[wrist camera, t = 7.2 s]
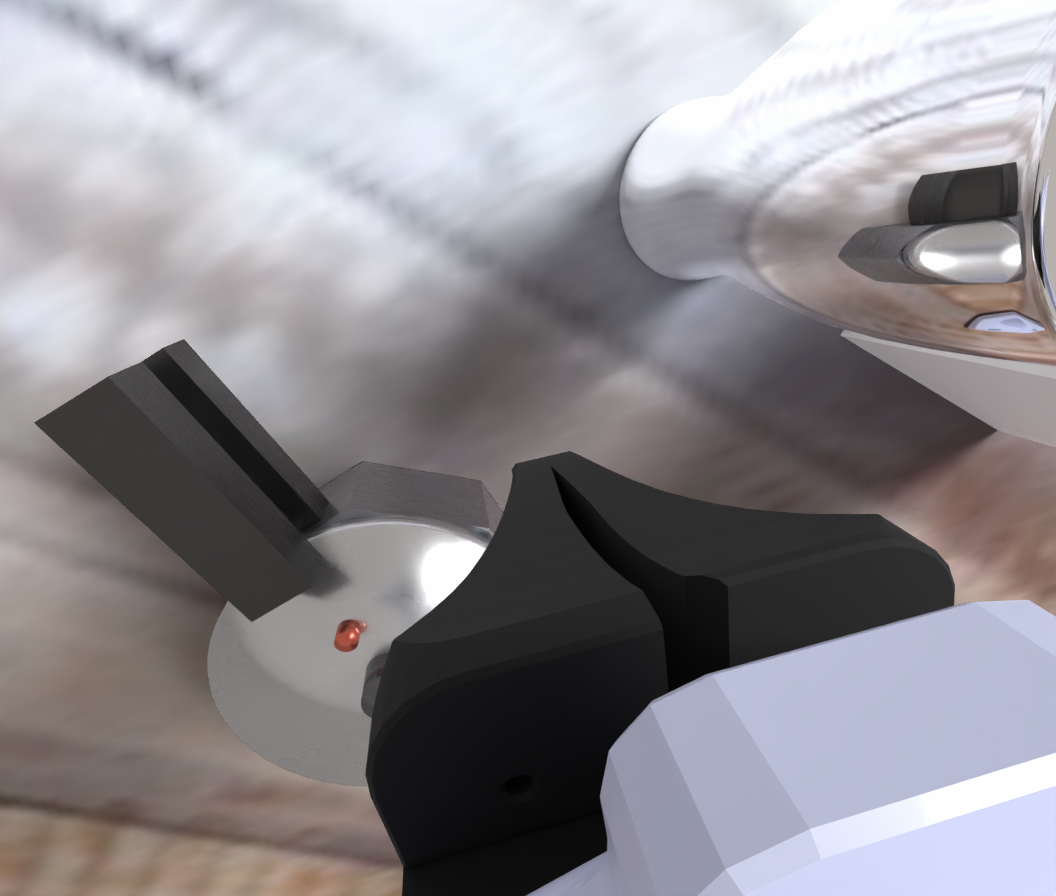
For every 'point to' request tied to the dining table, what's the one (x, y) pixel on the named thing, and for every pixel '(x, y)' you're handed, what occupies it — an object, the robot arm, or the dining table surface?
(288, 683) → the lid
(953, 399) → the milk
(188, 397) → the pot
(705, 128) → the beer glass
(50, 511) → the dining table surface
